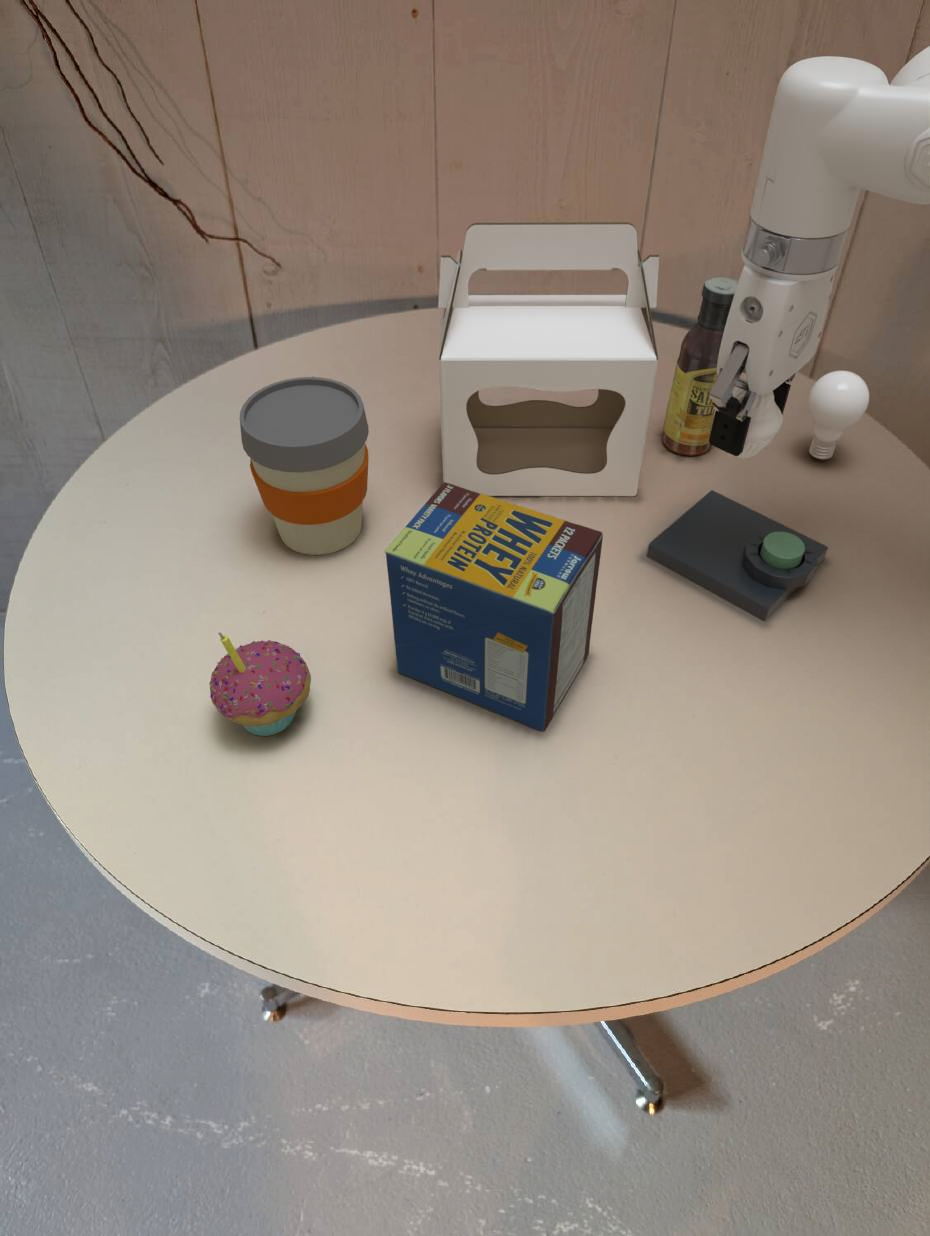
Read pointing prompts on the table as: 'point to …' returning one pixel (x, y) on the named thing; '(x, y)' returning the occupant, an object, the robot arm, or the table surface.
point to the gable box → (547, 364)
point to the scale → (733, 554)
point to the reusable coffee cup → (309, 460)
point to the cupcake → (260, 685)
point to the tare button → (782, 550)
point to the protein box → (493, 602)
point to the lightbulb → (835, 409)
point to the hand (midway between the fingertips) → (745, 430)
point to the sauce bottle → (698, 373)
